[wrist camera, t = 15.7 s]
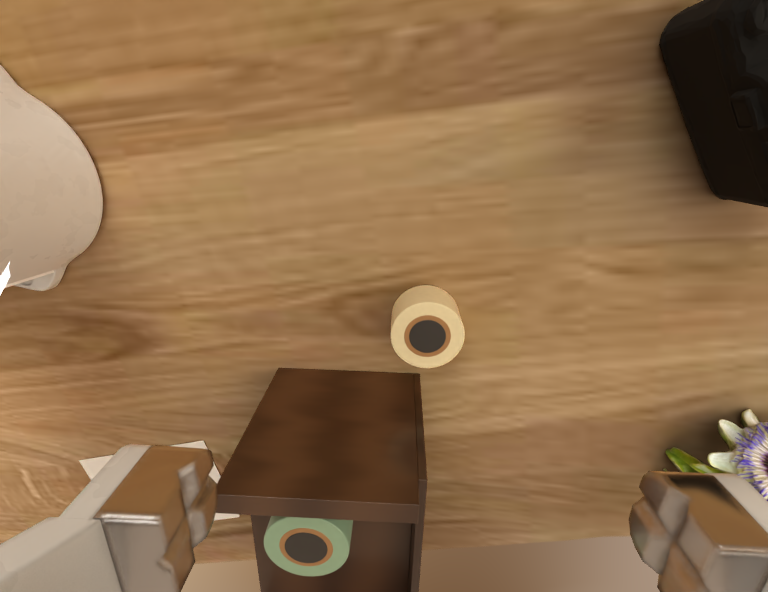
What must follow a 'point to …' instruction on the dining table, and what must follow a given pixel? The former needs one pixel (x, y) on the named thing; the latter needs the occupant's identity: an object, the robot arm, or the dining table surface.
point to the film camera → (724, 91)
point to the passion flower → (734, 453)
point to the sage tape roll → (308, 544)
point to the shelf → (336, 474)
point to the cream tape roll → (426, 327)
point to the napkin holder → (97, 464)
